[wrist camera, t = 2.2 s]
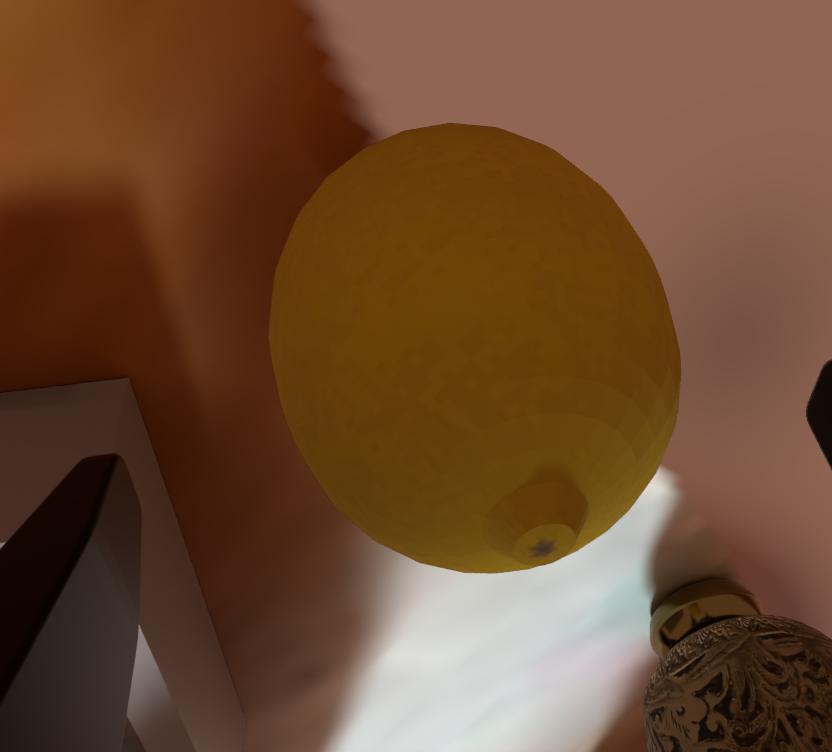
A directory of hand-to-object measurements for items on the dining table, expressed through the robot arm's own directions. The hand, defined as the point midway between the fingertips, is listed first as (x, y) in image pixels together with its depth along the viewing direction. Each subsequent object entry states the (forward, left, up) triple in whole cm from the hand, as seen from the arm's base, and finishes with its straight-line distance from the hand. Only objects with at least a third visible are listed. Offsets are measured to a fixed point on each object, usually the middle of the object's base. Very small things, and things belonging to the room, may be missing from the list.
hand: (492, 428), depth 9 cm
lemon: (0, 0, -6) cm, 6 cm away
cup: (-15, -9, -6) cm, 19 cm away
